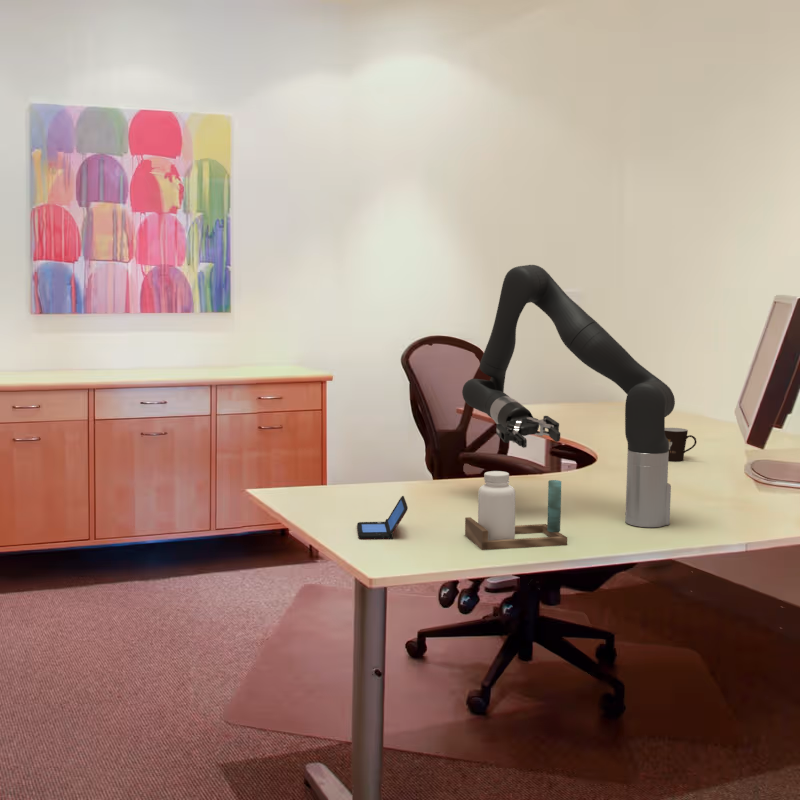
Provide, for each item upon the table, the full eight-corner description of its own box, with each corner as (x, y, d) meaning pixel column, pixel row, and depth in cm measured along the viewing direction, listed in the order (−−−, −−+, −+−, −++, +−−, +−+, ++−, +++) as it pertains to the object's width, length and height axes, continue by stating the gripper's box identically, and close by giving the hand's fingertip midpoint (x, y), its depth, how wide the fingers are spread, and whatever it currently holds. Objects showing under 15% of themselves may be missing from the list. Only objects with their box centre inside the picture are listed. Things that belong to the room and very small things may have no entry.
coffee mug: (653, 458, 309) (655, 428, 307) (676, 457, 311) (677, 427, 310) (674, 464, 298) (675, 433, 296) (697, 463, 300) (699, 432, 299)
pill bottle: (469, 540, 204) (470, 472, 202) (495, 534, 209) (496, 468, 207) (497, 548, 198) (498, 478, 196) (522, 541, 203) (523, 473, 202)
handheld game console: (356, 526, 217) (356, 495, 216) (403, 526, 217) (403, 494, 216) (358, 541, 204) (358, 507, 203) (407, 540, 205) (408, 507, 204)
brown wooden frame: (548, 530, 213) (550, 475, 212) (570, 544, 201) (572, 486, 200) (465, 535, 208) (465, 479, 207) (482, 549, 197) (483, 490, 195)
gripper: (484, 406, 228) (514, 430, 214) (537, 397, 232) (570, 421, 218) (484, 434, 231) (513, 460, 216) (536, 425, 235) (568, 450, 221)
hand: (542, 440), depth 217 cm, fingers open, 8 cm apart
